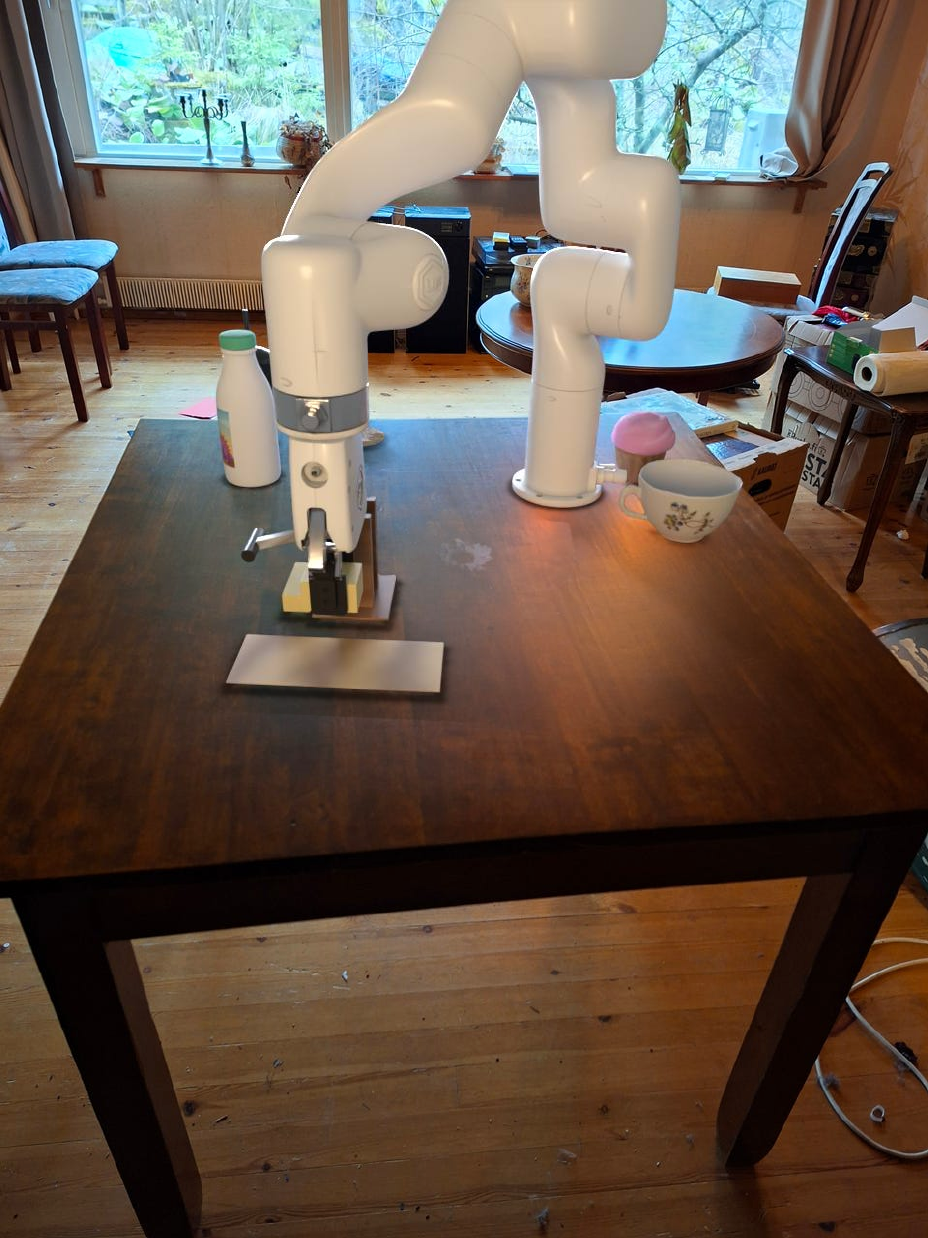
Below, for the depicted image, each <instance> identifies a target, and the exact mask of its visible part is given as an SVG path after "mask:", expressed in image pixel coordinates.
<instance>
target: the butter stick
mask: <svg viewBox="0 0 928 1238" xmlns="http://www.w3.org/2000/svg"><path fill="white" fill-rule="evenodd" d="M307 563H308V561H307V562H306V561H295V562H294V564H293V566H292V569H291V572H290V574H289V576H288V578H287V581H286V584H285V586H284V589H283V592H282V594H281V600H282V609H283V612H291V613H311V611H303V610H302V599H301V588H300V582H301V579H302V576H303V574H304V571H305V569H306V566H307Z"/></svg>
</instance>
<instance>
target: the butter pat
mask: <svg viewBox="0 0 928 1238" xmlns="http://www.w3.org/2000/svg"><path fill="white" fill-rule="evenodd" d="M333 563H334V562H333ZM342 575H346V584H347V603H348V611H347V613H357V612H358V609H359V605H360V601H361V597H362V593H363V571H362V563H349V562H342ZM308 576H309V572H308V563H307V566H306V569H305V571H304V574H303V576H302V579H301V582H300V588H301V599H302V610H303V611H310V612H311V602H310V590H309V577H308Z"/></svg>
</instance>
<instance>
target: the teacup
mask: <svg viewBox="0 0 928 1238" xmlns="http://www.w3.org/2000/svg"><path fill="white" fill-rule="evenodd" d="M743 484H744V482H743V480H742V478H741V477H740V476H737V475H736V474H735V473H733V472H732V471H730V470H728V469H726V468H725V467H724V468H723V467H722V466H721V467H720V466H718V465H713V464H711V463H709V462H705V461H701V460H697V459H692V458H677V457H673V458H672V457H671V458H664V460H656V461H653V462H650V463H647V464H646V465H645V466H644V467H642V468H641V470H640V473H639V478H638V483H637V485H638V486H637V485H635V484H629V485H626V486H625V487H624V488H623V489H622V490H621V492H620V493H619V499H618V506H619V509H620V511H621V512H622V513H623V514H624V515H625V516H626V517H628V518H632V519H638V520H644V521H646V522H648V523H649V524H650V525H651V526H652V527H653V528H654V529H655V530H656V531H657V532H658V534H659V535H660V536H661V537H663V538H664V539H666V540H668V541H672V542H675V543H683V544H691V543H695V542H699V541H700V540H702V539H704V537H705V536H707V535H709V534H710V533H712V532H713V531H715V530H716V529H717V528H719V526H720V525H722V523H724V521H725V520H726V519H727V518H728V516H729V515H730V513H731V512H732V510H733V508H734V507H735V504H736V502H737V500H738V497H739V494H740V491H741V489H742V487H743ZM632 494H634V495H635V496H636V497H637V500H639V502H640V505H641V508H642V510H643V513H638V512H636V511H633V510H631V509H629V508H628V507H627V506H626V505H625V502H626V499H627V497H628V496H630V495H632Z"/></svg>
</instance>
